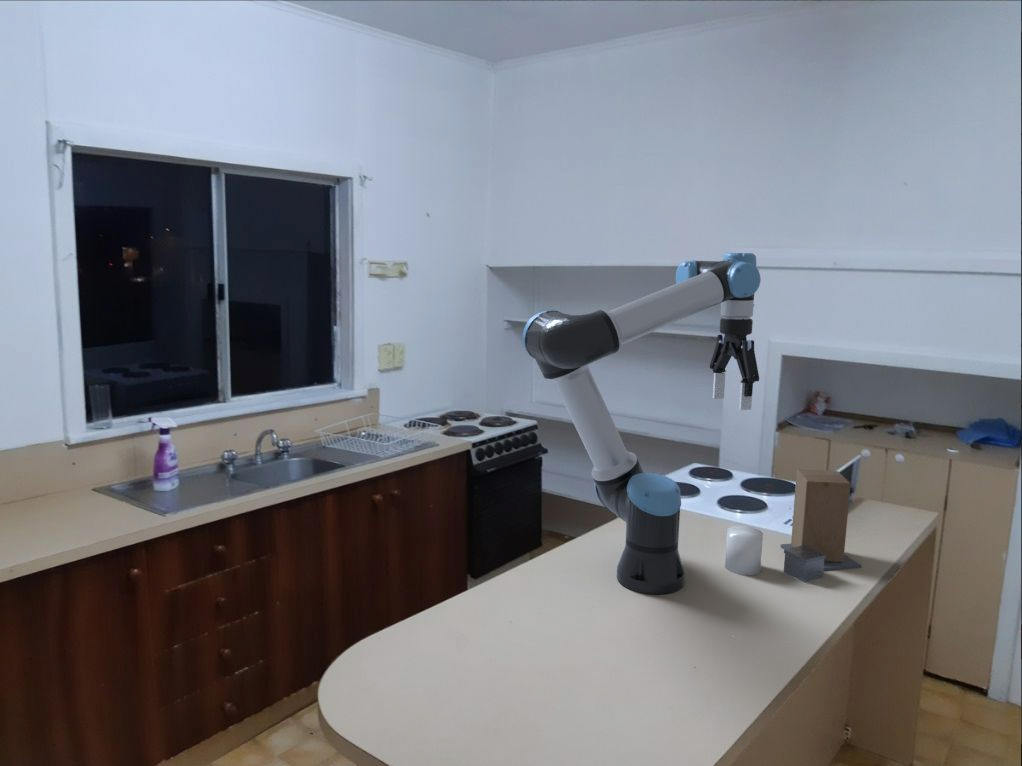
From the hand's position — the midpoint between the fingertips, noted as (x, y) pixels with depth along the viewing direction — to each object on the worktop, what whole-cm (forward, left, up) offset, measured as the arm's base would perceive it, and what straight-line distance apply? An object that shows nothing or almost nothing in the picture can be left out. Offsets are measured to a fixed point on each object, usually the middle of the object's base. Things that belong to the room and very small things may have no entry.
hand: (731, 403), depth 182 cm
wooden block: (+19, -11, -36) cm, 42 cm away
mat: (+20, -11, -37) cm, 43 cm away
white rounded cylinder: (-2, -14, -37) cm, 39 cm away
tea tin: (+10, -20, -37) cm, 43 cm away
